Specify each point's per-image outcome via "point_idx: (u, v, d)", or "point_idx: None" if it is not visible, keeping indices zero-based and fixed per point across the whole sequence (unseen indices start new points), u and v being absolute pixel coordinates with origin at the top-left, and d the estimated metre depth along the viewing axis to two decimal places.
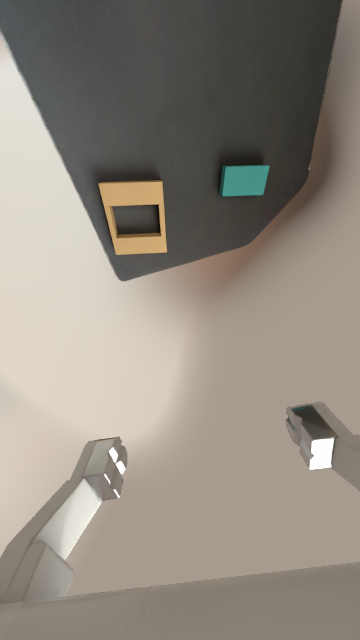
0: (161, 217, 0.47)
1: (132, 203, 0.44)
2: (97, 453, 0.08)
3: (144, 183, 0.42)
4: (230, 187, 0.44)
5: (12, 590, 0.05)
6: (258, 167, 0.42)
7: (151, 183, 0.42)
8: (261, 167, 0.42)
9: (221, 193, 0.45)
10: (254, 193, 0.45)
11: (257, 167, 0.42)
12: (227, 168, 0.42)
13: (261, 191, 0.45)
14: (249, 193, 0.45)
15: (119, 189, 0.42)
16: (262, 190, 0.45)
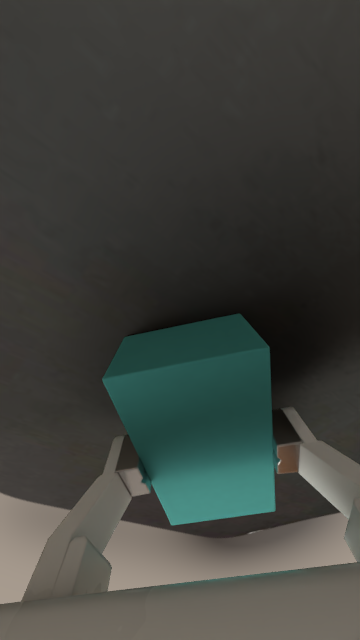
0: None
1: None
2: (127, 448, 0.08)
3: None
4: (162, 410, 0.07)
5: (59, 583, 0.05)
6: (268, 485, 0.09)
7: None
8: (268, 492, 0.09)
9: (122, 361, 0.07)
10: (166, 503, 0.09)
11: (268, 482, 0.09)
12: (259, 358, 0.06)
13: (181, 518, 0.10)
14: (162, 489, 0.09)
15: None
16: (186, 520, 0.10)
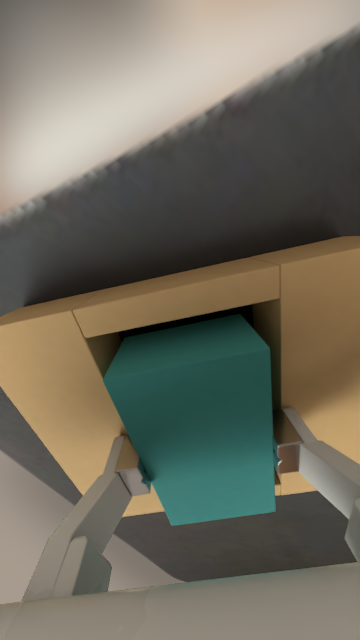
0: None
1: None
2: (127, 448, 0.08)
3: None
4: (162, 410, 0.07)
5: (59, 584, 0.05)
6: (269, 485, 0.09)
7: (356, 461, 0.10)
8: (268, 493, 0.09)
9: (122, 361, 0.07)
10: (166, 504, 0.09)
11: (268, 482, 0.09)
12: (260, 359, 0.06)
13: (182, 519, 0.10)
14: (162, 489, 0.09)
15: (359, 355, 0.08)
16: (186, 520, 0.10)
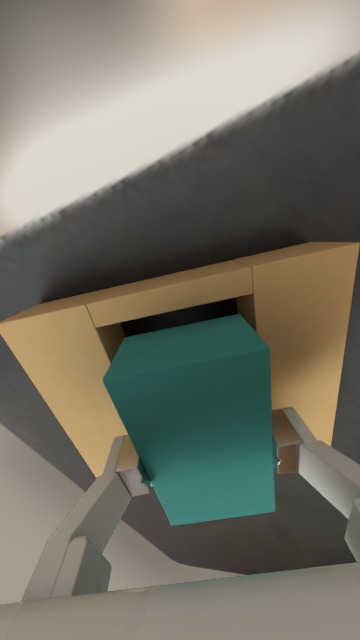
0: None
1: None
2: (127, 448, 0.08)
3: (331, 418, 0.11)
4: (162, 410, 0.07)
5: (59, 584, 0.05)
6: (268, 485, 0.09)
7: (328, 435, 0.12)
8: (268, 493, 0.09)
9: (122, 361, 0.07)
10: (166, 504, 0.09)
11: (268, 482, 0.09)
12: (259, 359, 0.06)
13: (181, 519, 0.10)
14: (162, 489, 0.09)
15: (321, 340, 0.09)
16: (186, 520, 0.10)
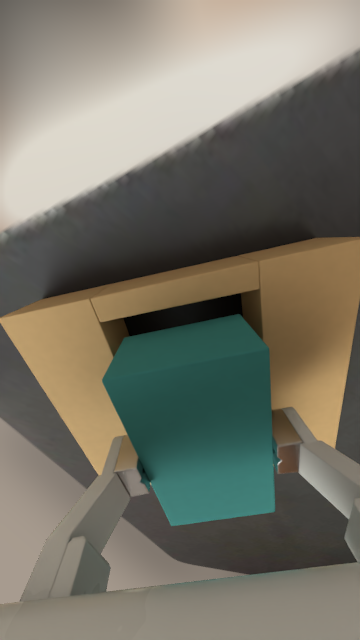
0: None
1: (271, 385, 0.10)
2: (126, 448, 0.08)
3: (336, 417, 0.11)
4: (161, 411, 0.07)
5: (57, 584, 0.05)
6: (268, 486, 0.09)
7: (333, 434, 0.12)
8: (268, 493, 0.09)
9: (121, 362, 0.07)
10: (166, 504, 0.09)
11: (268, 483, 0.09)
12: (259, 359, 0.06)
13: (181, 519, 0.10)
14: (161, 490, 0.09)
15: (327, 337, 0.09)
16: (186, 520, 0.10)
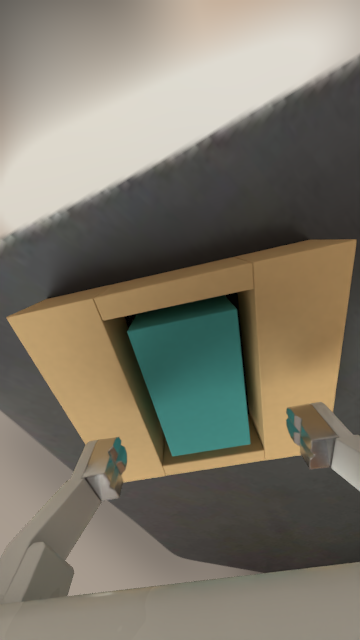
0: (224, 460, 0.13)
1: (266, 381, 0.11)
2: (97, 453, 0.08)
3: None
4: (166, 355, 0.10)
5: (11, 590, 0.05)
6: (243, 419, 0.12)
7: None
8: (244, 426, 0.12)
9: (138, 322, 0.10)
10: (168, 435, 0.12)
11: (243, 417, 0.12)
12: (230, 317, 0.09)
13: (180, 450, 0.13)
14: (165, 422, 0.12)
15: (319, 334, 0.10)
16: (183, 451, 0.13)
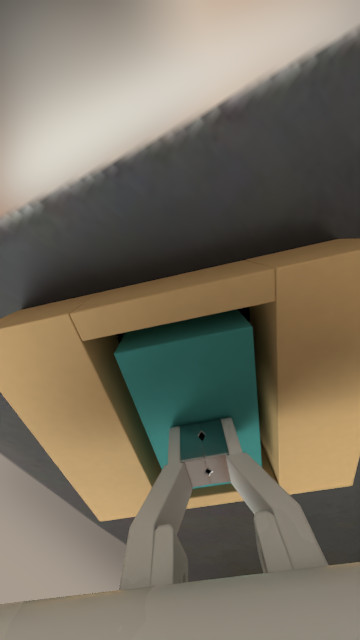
0: (232, 496, 0.11)
1: (286, 410, 0.09)
2: (186, 438, 0.08)
3: (359, 444, 0.10)
4: (163, 381, 0.08)
5: (156, 572, 0.05)
6: (256, 452, 0.10)
7: (353, 462, 0.10)
8: (256, 460, 0.10)
9: (129, 340, 0.08)
10: None
11: (255, 450, 0.10)
12: (244, 336, 0.07)
13: None
14: (162, 455, 0.10)
15: (354, 357, 0.08)
16: None
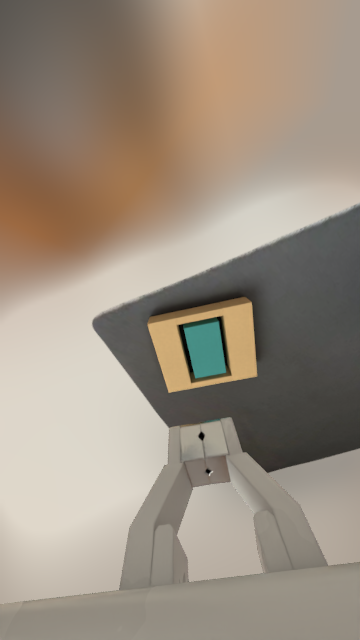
0: (216, 380, 0.33)
1: (230, 345, 0.31)
2: (186, 438, 0.08)
3: (254, 358, 0.32)
4: (195, 336, 0.30)
5: (156, 572, 0.05)
6: (222, 361, 0.32)
7: (254, 365, 0.32)
8: (223, 364, 0.32)
9: (186, 325, 0.30)
10: (194, 368, 0.32)
11: (222, 360, 0.32)
12: (216, 323, 0.29)
13: (198, 375, 0.33)
14: (193, 362, 0.32)
15: (245, 329, 0.30)
16: (199, 375, 0.33)
